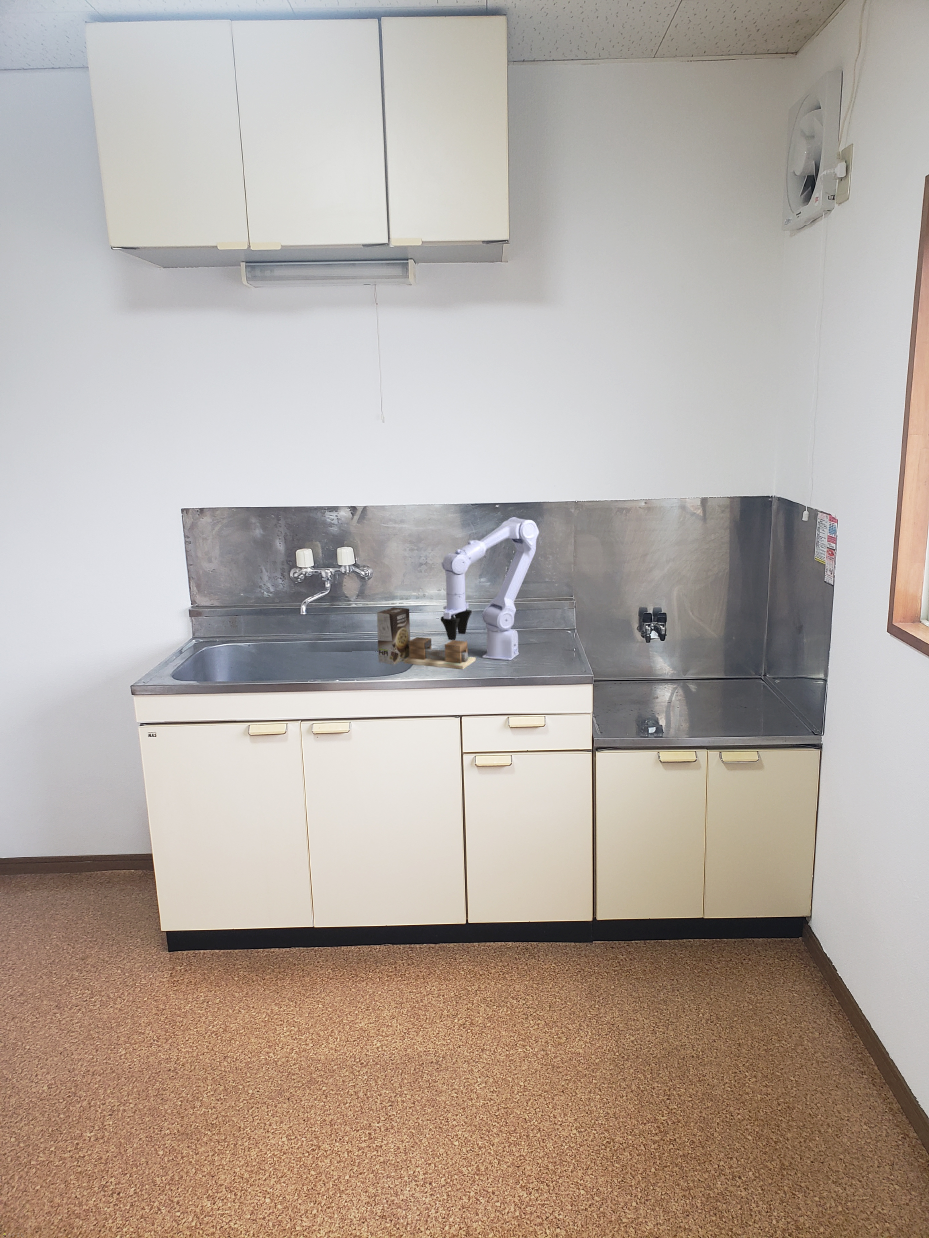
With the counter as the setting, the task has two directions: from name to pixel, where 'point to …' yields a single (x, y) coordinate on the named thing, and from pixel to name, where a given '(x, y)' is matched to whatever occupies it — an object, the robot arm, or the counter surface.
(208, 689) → the counter surface
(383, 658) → the coffee box
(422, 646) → the rail board
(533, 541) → the robot arm
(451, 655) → the forked wooden block
